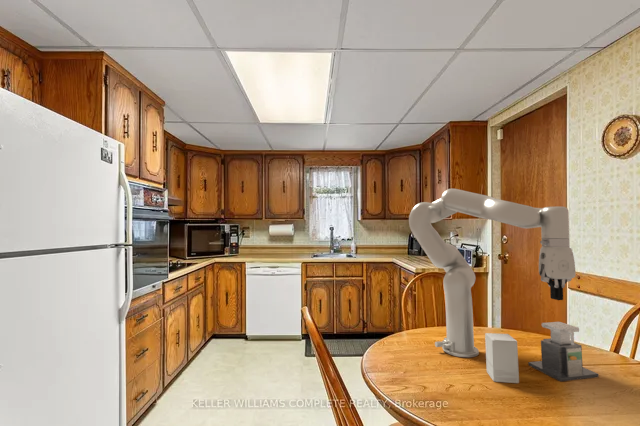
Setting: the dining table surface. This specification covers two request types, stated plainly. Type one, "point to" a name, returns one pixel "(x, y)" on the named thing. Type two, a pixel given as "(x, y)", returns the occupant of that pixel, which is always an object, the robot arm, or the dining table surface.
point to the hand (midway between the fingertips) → (556, 299)
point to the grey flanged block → (561, 332)
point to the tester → (562, 362)
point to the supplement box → (502, 357)
